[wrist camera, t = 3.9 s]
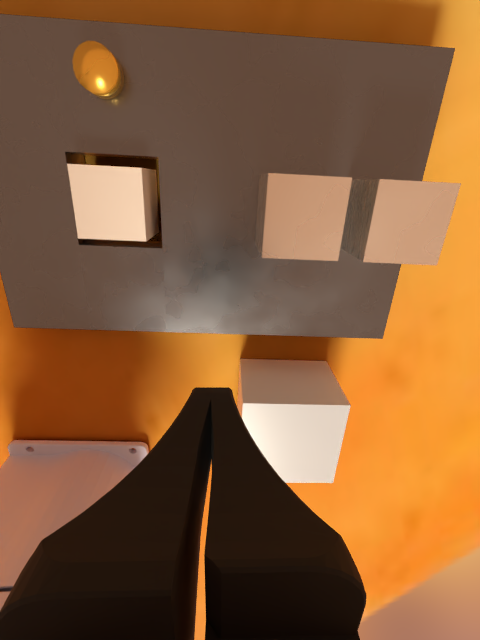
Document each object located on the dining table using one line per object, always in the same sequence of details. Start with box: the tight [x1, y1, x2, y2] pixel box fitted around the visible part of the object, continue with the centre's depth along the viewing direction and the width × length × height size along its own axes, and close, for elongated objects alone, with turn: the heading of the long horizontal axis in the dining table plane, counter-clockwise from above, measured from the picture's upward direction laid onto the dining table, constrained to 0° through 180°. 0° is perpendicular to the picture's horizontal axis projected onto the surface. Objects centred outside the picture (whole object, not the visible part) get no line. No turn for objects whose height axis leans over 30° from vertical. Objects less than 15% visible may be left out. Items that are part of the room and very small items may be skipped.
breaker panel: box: [0, 14, 461, 339], centre depth 14 cm, size 20×13×6 cm, turn 87°
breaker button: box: [67, 164, 159, 241], centre depth 15 cm, size 3×3×3 cm
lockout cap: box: [237, 359, 351, 483], centre depth 20 cm, size 6×6×4 cm
